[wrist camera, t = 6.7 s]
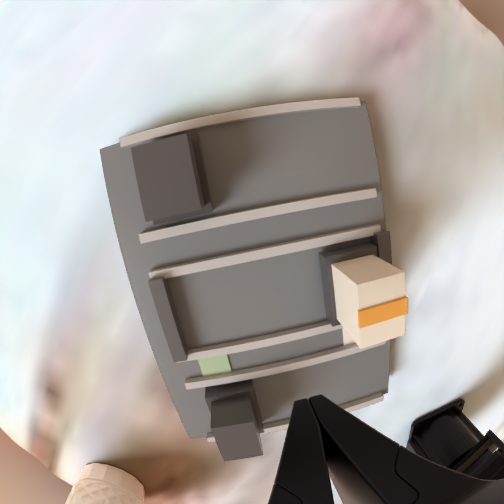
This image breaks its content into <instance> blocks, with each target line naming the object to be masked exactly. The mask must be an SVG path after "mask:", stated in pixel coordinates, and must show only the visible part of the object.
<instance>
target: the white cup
mask: <svg viewBox="0 0 504 504" xmlns="http://www.w3.org/2000/svg"><path fill="white" fill-rule="evenodd" d="M144 496H145V492H144V486H143V485H142V484H141V483H140V482H139V481H138V479H137V478H136V477H134V476H132V475H131V474H129V473H127V472H126V471H124V470H122V469H119V468H116V467H113V466H111V465H107V464H100V463H92V464H87V465H85V466H84V468H83V470H82V471H81V474H80V476H79V478H78V480H77V482H76V484H74V486H73V488H72V491H71V493H70V494H69V496H68V498H67V501H66V503H65V504H143V503H144Z"/></svg>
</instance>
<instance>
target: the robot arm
mask: <svg viewBox="0 0 504 504" xmlns="http://www.w3.org/2000/svg"><path fill="white" fill-rule="evenodd" d="M464 402H465V401H464V400H463V399H459V400H457V401H455V402H453V403H452V404H450V405H448V406H446V407H444V408H442V409H440V410H438V411H436V412H434V413H432V414H429V415H427V416H425V417H423V418H421V419H419V420H416V421H415V422H414V423H413V424H412V425H411V430H410V435H409V440H408V443H407V447H406V448H405V447H403V446H400V445H399V444H398V443H396V442H395V441H393V440H391V439H390V438H388V437H386V436H385V435H383V434H382V433H380V432H378V431H377V430H375V429H374V428H372V427H371V426H369V425H367V424H366V423H364V422H363V421H361V420H360V419H358V418H357V417H355V416H354V415H352V414H350V413H349V412H347V411H346V410H344V409H343V408H341V407H340V406H338V405H337V404H335V403H334V402H333V401H331V400H330V399H328V398H327V397H325V396H324V395H322V394H319V395H315V396H311V397H309V399H307V398H304V399H300V400H296V401H294V403H293V408H292V412H291V417H290V421H289V426H288V430H287V434H286V438H285V443H284V447H283V451H282V455H281V459H280V463H279V467H278V471H277V474H276V478H275V482H274V483H275V484H274V485H273V489H272V492H271V496H270V499H269V502H268V504H334V500H333V494H332V488H331V482H330V477H331V479H332V481H333V484H334V486H335V488H336V490H337V492H338V494H339V496H340V498H341V500H342V502H343V504H504V443H503V442H502V441H501V440H500V439H499V438H498V437H497V436H496V435H495V434H494V433H493V432H492V431H491V430H489V431H488V432H487V433H486V435H485V436H483V434H482V433H481V432H480V431H479V430H478V429H477V428H476V427H475V426H474V425H473V424H472V422H471V421H470V420H469V419H468V418H467V417H466V416H465V415H464V414H463V413H462V410H463V406H464ZM399 446H400V447H399ZM497 448H498V450H497V451H495V450H496V449H497ZM494 451H495V452H494ZM493 452H494V453H493ZM329 475H330V477H329Z"/></svg>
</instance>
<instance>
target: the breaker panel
mask: <svg viewBox="0 0 504 504" xmlns="http://www.w3.org/2000/svg"><path fill="white" fill-rule="evenodd" d="M119 140H120V143H118V144H115V145H111V146H108V147H105V148H102V149H100V154H101V160H102V166H103V172H104V177H105V182H106V188H107V193H108V197H109V202H110V207H111V211H112V216H113V220H114V225H115V229H116V233H117V237H118V241H119V245H120V249H121V253H122V256H123V260H124V264H125V267H126V271H127V274H128V278H129V281H130V285H131V288H132V291H133V294H134V298H135V301H136V304H137V307H138V310H139V313H140V316H141V319H142V322H143V325H144V328H145V331H146V334H147V337H148V340H149V342H150V345H151V348H152V351H153V353H154V356H155V359H156V361H157V364H158V366H159V369H160V372H161V374H162V377H163V379H164V382H165V384H166V386H167V389H168V391H169V394H170V396H171V398H172V401H173V403H174V405H175V408H176V410H177V412H178V414H179V417H180V419H181V421H182V423H183V425H184V427H185V430H186V432H187V434H188V436H189V438H199V437H207V440H208V442H215V441H216V443H217V445H218V448H219V450H220V452H221V455H222V457H223V459H224V461H230V460H237V459H243V458H250V457H256V456H261V455H263V451H262V445H261V439H260V434H265V433H270V432H275V431H280V430H284V429H288V426H289V421H290V417H291V412H292V408H293V403H294V401H296V400H300V399H304V398H307V399H309V397H311V396H315V395H319V394H322V395H324V396H325V397H327V398H328V399H330V400H331V401H333V402H334V403H335V404H337V405H338V406H340V407H341V408H343V409H344V410H346V411H347V412H351V411H354V410H357V409H360V408H363V407H366V406H369V405H372V404H375V403H378V402H381V401H383V397H384V396H383V394H386V393H388V381H389V361H390V340H387V341H384V342H381V343H378V344H375V345H372V346H369V347H366V348H362V349H360V348H359V346H358V345H357V344H356V342H355V341H354V340H353V339H352V337H351V336H350V335H349V334H348V332H347V331H346V330H345V329H344V327H343V326H342V325H337V326H334V327H332V325H331V324H330V323H329V321H328V320H327V319H326V312H325V303H324V294H323V286H322V278H321V270H320V262H319V255H318V253H319V252H323V251H328V250H333V249H337V248H342V247H347V246H351V245H356V244H360V243H365V242H368V243H371V244H373V245H375V246H377V257H378V258H380V259H382V260H384V261H386V262H387V263H389V264H391V265H392V258H391V243H390V232H389V231H386V226H385V217H384V208H383V199H382V192H381V184H380V177H379V171H378V164H377V158H376V152H375V147H374V141H373V136H372V131H371V126H370V121H369V116H368V112H367V107H366V103H365V101H362V102H360V100H359V97H355V98H336V99H322V100H311V101H300V102H291V103H283V104H275V105H268V106H261V107H254V108H248V109H241V110H236V111H230V112H224V113H219V114H214V115H209V116H204V117H199V118H195V119H190V120H186V121H181V122H177V123H173V124H169V125H165V126H161V127H157V128H153V129H150V130H146V131H142V132H139V133H135V134H132V135H129V136H125V137H122V138H119Z"/></svg>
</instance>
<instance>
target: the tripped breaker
mask: <svg viewBox="0 0 504 504" xmlns="http://www.w3.org/2000/svg"><path fill="white" fill-rule="evenodd" d="M318 255H319V262H320V270H321V278H322V286H323V294H324V303H325V312H326V319H327V320H328V321H329V323H330V324H331V325H332V327H334V326H337V325H342V326H343V327H344V329H345V330H346V331H347V332H348V334H349V335H350V336H351V337H352V339H353V340H354V341H355V342H356V344H357V345H358V346H359V348H360V349H362V348H366V347H369V346H372V345H375V344H378V343H381V342H384V341H387V340H390V339H393V338H396V337H399V336H402V335H405V314H408V297H406V296H405V272H404V271H402V270H400V269H399V268H397V267H395V266H393V265H391V264H389V263H387V262H386V261H384V260H382V259H380V258H378V257H377V246H375V245H373V244H371V243H368V242H365V243H360V244H356V245H351V246H347V247H342V248H337V249H333V250H328V251H323V252H319V253H318Z"/></svg>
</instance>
